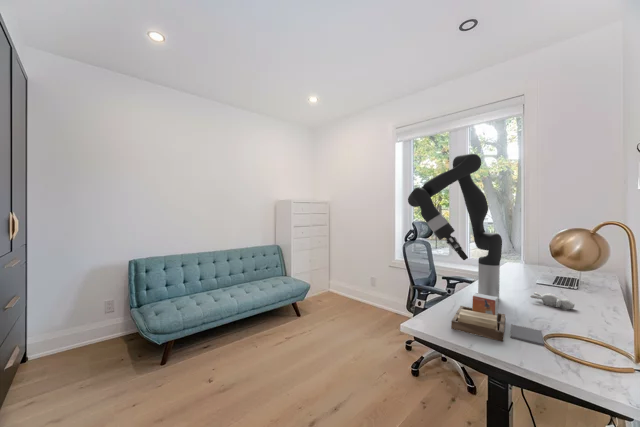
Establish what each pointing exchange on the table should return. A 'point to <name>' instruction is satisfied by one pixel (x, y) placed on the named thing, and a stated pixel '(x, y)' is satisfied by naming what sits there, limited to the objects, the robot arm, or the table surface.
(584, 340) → the table surface
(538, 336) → the charcoal mat
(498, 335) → the walnut rack
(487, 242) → the robot arm
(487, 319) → the offcut stack
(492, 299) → the small box
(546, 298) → the bunny figurine
